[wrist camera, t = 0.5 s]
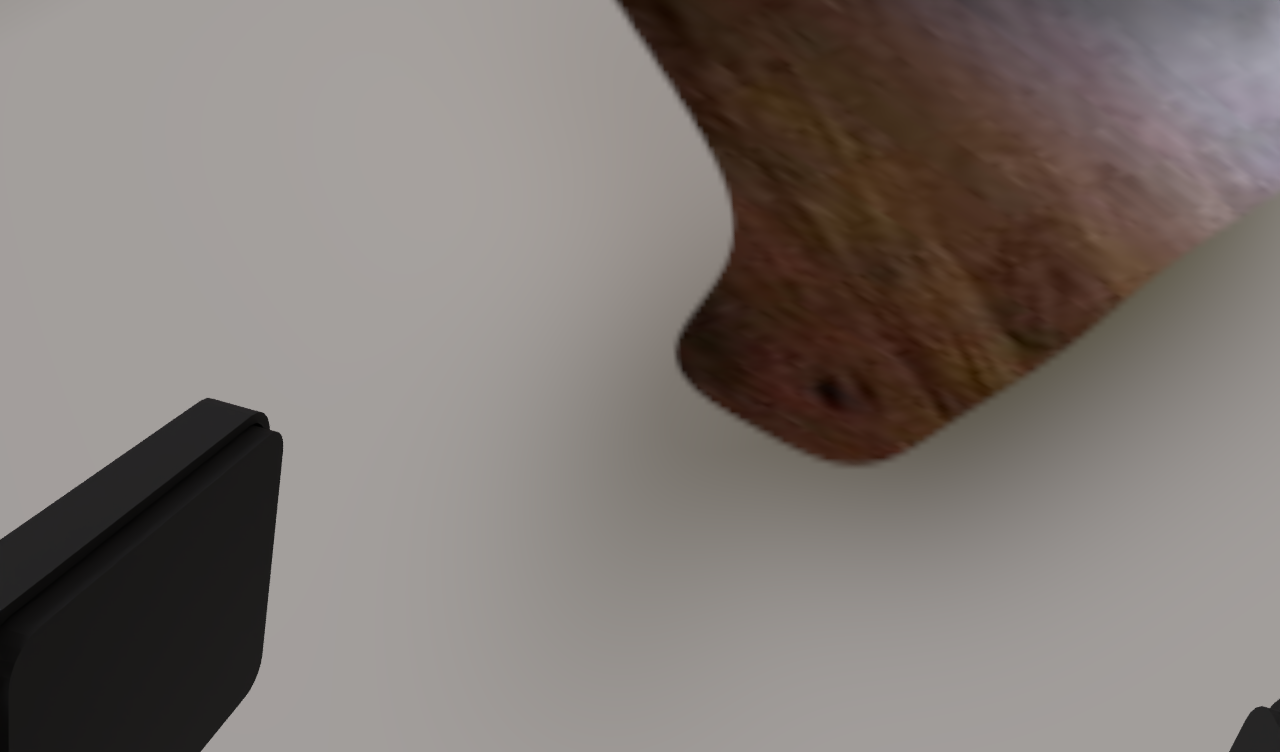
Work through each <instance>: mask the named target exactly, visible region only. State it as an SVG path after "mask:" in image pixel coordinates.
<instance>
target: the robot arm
mask: <svg viewBox="0 0 1280 752" xmlns="http://www.w3.org/2000/svg"><path fill="white" fill-rule="evenodd" d="M282 455H283V439H282V436H281V434H280V433H279V432H275V431H272V430H270V426H269V421H268V418H267V416H266V415H265V414H264V413H262V412H258V411H254V410H251V409H247V408H244V407H240V406H237V405H233V404H230V403H226V402H222V401H219V400H215V399H210V398H206V399H204V400H201V401H200V402H198V403H197V404H195V405H194V406H192V407H191V408H189V409H188V410H187V411H185V412H184V413H183V414H181V415H179V416H178V417H176V418H175V419H174V420H172V421H171V422H169V423H168V424H166V425H165V426H163V427H162V428H161V429H159V430H158V431H156V432H155V433H154V434H152V435H151V436H149V437H148V438H146V439H145V440H143V441H142V442H140V443H139V444H138V445H136V446H135V447H133V448H132V449H130V450H129V451H127V452H126V453H125V454H123V455H122V456H120V457H119V458H117V459H116V460H115V461H113V462H112V463H110V464H109V465H107V466H106V467H104V468H103V469H102V470H100V471H99V472H97V473H96V474H94V475H93V476H91V477H90V478H89V479H87V480H86V481H84V482H83V483H81V484H80V485H79V486H77V487H76V488H74V489H73V490H71V491H70V492H68V493H67V494H66V495H64V496H63V497H61V498H60V499H59V500H57V501H55V502H54V503H53V504H51V505H50V506H48V507H47V508H45V509H44V510H43V511H41V512H40V513H38V514H37V515H35V516H34V517H32V518H31V519H30V520H28V521H27V522H25V523H24V524H22V525H21V526H19V527H18V528H17V529H15V530H14V531H12V532H11V533H9V534H8V535H6V536H5V537H4V538H2V539H1V540H0V752H201V750H202V749H203V748H204V747H205V745H206V744H207V743H208V742H209V741H210V739H211V738H212V737H213V736H214V734H215V733H216V732H217V731H218V729H219V728H220V727H221V726H222V725H223V723H224V722H225V721H226V719H228V717H229V716H230V715H231V714H232V712H233V711H234V710H235V709H236V707H237V706H238V705H239V704H240V703H241V701H242V700H243V699H244V698H245V696H246V695H247V694H248V692H249V690H250V689H251V687H252V685H253V683H254V681H255V679H256V676H257V674H258V671H259V667H260V664H261V659H262V653H263V643H264V633H265V623H266V612H267V603H268V593H269V583H270V574H271V564H272V553H273V544H274V533H275V523H276V514H277V503H278V495H279V485H280V475H281V464H282ZM1229 752H1280V699H1279V700H1278V701H1277V702H1275V703H1274V704H1273V705H1272V706H1271V708H1267V707H1263V706H1261V707H1257V708H1255V709H1254V710H1253V711H1252V712H1251V713H1250V714H1249V716H1248V717H1247V719H1246V720H1245V723H1244V724H1243V726H1242V728H1241V730H1240V732H1239V734H1238V736H1237V738H1236V740H1235V742H1234V744H1233V746H1232V747H1231V749H1230V751H1229Z"/></svg>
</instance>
